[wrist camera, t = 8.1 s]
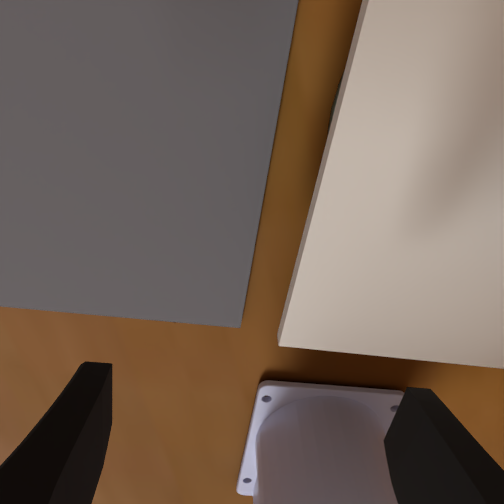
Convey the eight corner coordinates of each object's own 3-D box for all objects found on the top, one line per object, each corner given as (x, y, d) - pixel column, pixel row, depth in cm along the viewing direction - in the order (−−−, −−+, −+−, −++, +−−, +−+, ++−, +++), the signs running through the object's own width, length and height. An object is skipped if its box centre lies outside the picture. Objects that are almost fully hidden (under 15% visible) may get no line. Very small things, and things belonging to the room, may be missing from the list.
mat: (240, 321, 23) (240, 327, 23) (-143, 285, 21) (-151, 292, 21) (317, -119, 14) (319, -121, 14) (-317, -243, 13) (-336, -251, 12)
